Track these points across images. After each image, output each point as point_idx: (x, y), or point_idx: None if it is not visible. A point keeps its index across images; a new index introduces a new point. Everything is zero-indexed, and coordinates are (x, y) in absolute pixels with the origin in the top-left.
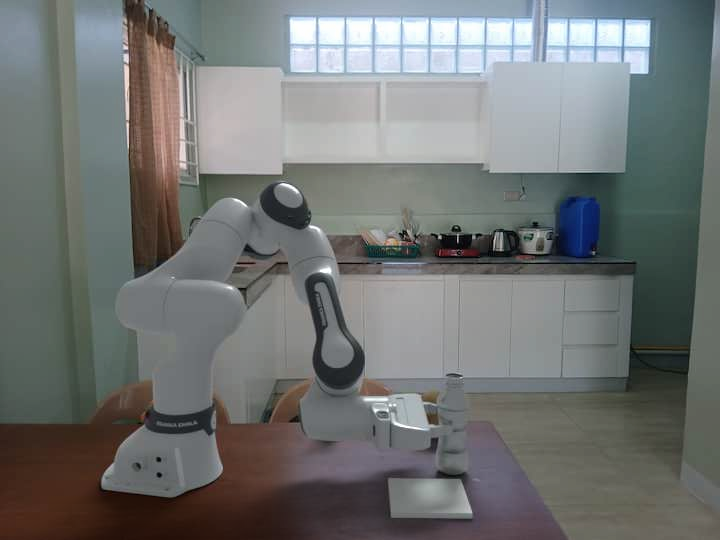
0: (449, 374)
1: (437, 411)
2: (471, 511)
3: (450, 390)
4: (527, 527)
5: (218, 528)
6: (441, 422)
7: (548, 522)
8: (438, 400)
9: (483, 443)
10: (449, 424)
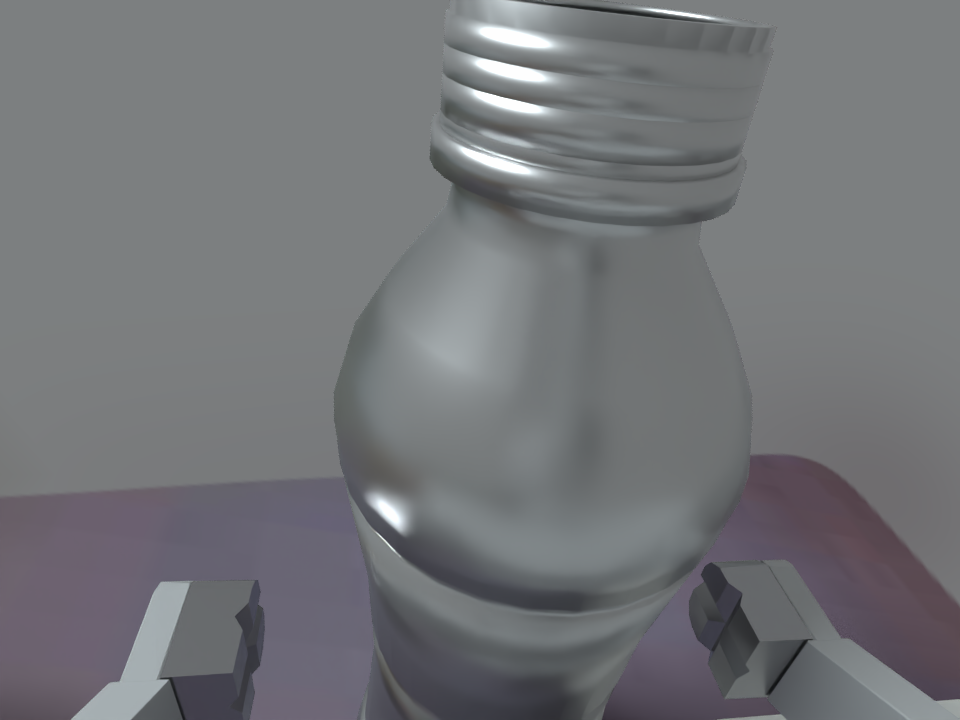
0: (481, 26)
1: (230, 703)
2: (948, 702)
3: (698, 258)
4: (848, 518)
5: None
6: (613, 672)
7: (774, 460)
8: (663, 523)
9: (95, 554)
10: (760, 574)
